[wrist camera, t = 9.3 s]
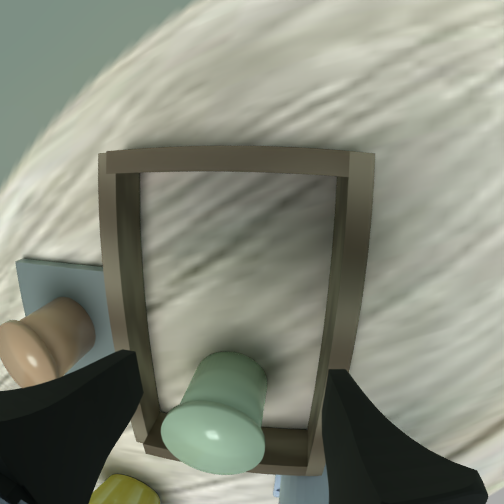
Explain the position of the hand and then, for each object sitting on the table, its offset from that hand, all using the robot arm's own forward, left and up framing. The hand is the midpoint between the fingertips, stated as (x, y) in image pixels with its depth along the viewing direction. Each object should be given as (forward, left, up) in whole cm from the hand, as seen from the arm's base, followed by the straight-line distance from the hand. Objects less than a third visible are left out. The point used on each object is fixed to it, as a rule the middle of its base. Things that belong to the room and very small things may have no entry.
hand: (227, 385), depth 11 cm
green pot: (-7, +2, -9) cm, 12 cm away
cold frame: (-2, +2, -9) cm, 10 cm away
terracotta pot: (-4, +14, -8) cm, 17 cm away
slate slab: (-4, +15, -9) cm, 18 cm away
